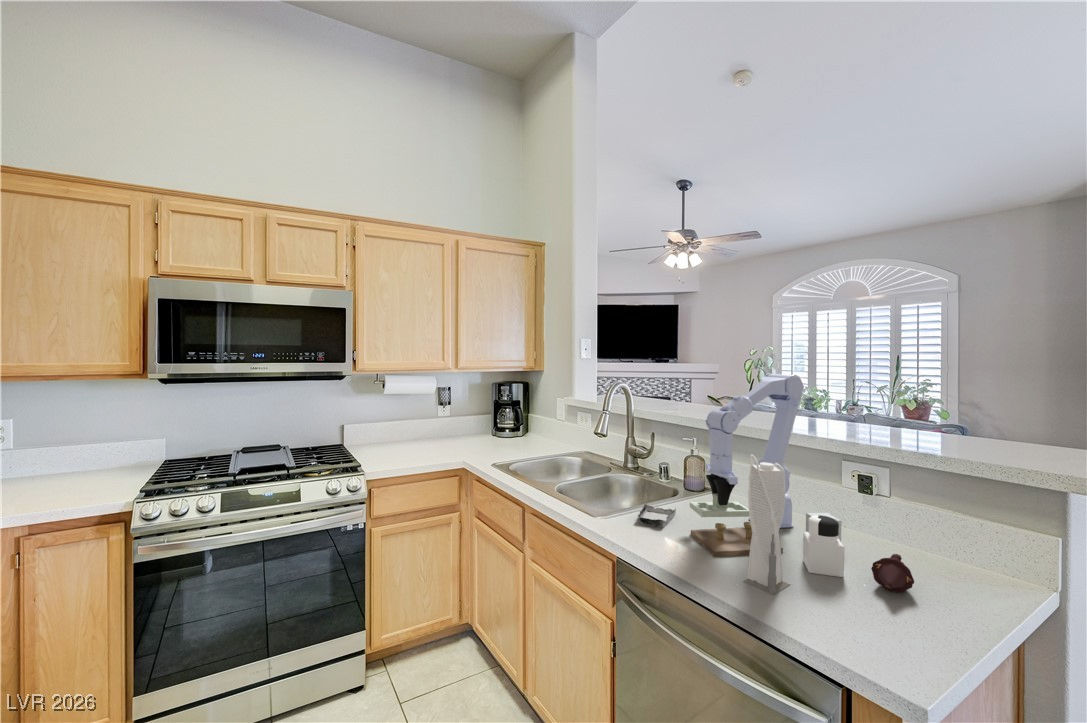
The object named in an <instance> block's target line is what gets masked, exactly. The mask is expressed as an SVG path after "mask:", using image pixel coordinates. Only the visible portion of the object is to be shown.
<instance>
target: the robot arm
mask: <svg viewBox="0 0 1087 723" xmlns="http://www.w3.org/2000/svg"><path fill="white" fill-rule="evenodd" d="M804 388H805V386H804V383H803V381H802V379H801V377H800V376H799V375H797V374H781V373H780V374H779V373H778V374H776V373H771V372H770V373H769V372H768V373H766V374H765V375H764V376H762V377H760V379H759V383H757V384H756V385H755V386H754V387H753V388H752V389H750V390H749V391H748V392H747V393H746V394H745V395H735V396H732V399H731V400H730V401H729V402H728V403H726V404H724V405H722V406H721V408H719V409H713V410H711V411H710V412H709V413H708V415H707V417H706V419H705V425H706V427H707V428H708V434H709V438H710V439H709V440H710V441H709V442H710V443H709V444H710V446H709V447H710V448H709V454H710V455H709V457H710V458H709V462H708V463H705V472H706V473H707V474H706V475H705V477H706V479H707V481H708V484H709V486H710V490H711V495H712V496H713V494H718V502H719V505H727V504H728V502H730V501H729V500H730V497H731V493H732V492H733V489H734V488H735V487H736V485H738V484H739V482H738V480H739V477H738V476H737V475H736V474H735V472H734V470H733V444H734V443H733V437H734V434H733V432H735V431H736V430H737V429H738V426H739V424H740V423H741V421H742V420H744V419H745V418H746V417H747V416H749V415H750V414H751V413H752V412H753V409H754V407H753V406H755V405H756V404H758V403H760V402H762V401H764V399H766V398H767V397H768V398H769V400H770V401H771V402H772V403H774V405H775V406H776V411H775V414H774V417H773V418H774V419H773V422H772V426H771V430H770V433H769V437H768V440H767V444H766V446H765V450H764V455H763V457H762V458H760V459H757V461H758V465H760V463H762V462H766V463H772V464H775V463H778V464H780V465H781V466H782V467H783V469H784V471H785V506H784V513H783V518H782V522H781V526H780V528H781V529H782V528H784V529H785V528H794V525H793V524H792V523H793V503H792V499H791V497H790V495H789V494H788V491H789V489H790V477H791V476H790V475H791V471H790V470H789V469H788V467H787V466H786V465H785V463H784V462H785V458H786V456H787V455H786V454H787V452H788V451H787V450H788V447H789V444H790V440H791V435H792V433H793V429H794V425H795V424H794V423H795V420H796V416H797V413H798V409H799V406H800V404H801V400H802V396H803V393H804ZM754 462H755V461H754ZM754 465H756V462H755V463H754ZM777 467H778V468H780V467H779V466H778V465H777ZM780 469H781V468H780ZM781 470H782V469H781ZM748 520H749V521H750V517H748Z"/></svg>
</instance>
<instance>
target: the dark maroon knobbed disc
mask: <svg viewBox="0 0 1087 723" xmlns="http://www.w3.org/2000/svg"><path fill="white" fill-rule="evenodd" d="M871 571H872V577H873V579H874V581H875V582H876V583H877V584H878V585H880V586H881V587H882V588H883V589H885V590H886V591H890V590H891V591H890V592H894V591H895V593H898V592H900V594H903V593H904V592H906V591H908V590H909V589H912V588H913V585H914V584H915V580H914V577H913V575H912V571H911V570H910V568H909V567H908V566H906V565H905V562H903V561H902V556H901V554H898V553H893V554H892V555H890V557H883V558H880V559H879V560H876V561H874V562H872V566H871Z"/></svg>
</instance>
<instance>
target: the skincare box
mask: <svg viewBox="0 0 1087 723" xmlns="http://www.w3.org/2000/svg"><path fill="white" fill-rule="evenodd" d="M815 515H822V516H828V517H831V518H833V519H835V520H836V521H837V522H838V523H839V540H840V541H841V542H842V522H843V521H842V519H840V518H837V517H835V516H833V515H832V514H830V513H829V512H808V513H807V512H806V513H805V532H809V518H810V517H811V516H815Z"/></svg>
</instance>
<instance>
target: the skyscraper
mask: <svg viewBox="0 0 1087 723" xmlns="http://www.w3.org/2000/svg"><path fill="white" fill-rule="evenodd" d="M753 459H754V462H756V465H755V464H753ZM749 462H750V468H749V474H748V490H747V491H748V494H747V495H748V497H747V498H748V499H747V500H748V509H749V516H750V520H749V522H750V523H751V528H752V538H751V546H750V555H749V557H748V566H747V578H746V579H744V580H743V581H742V583H744V584H747V585H750V586H751V587H754V588H756V589H759V590H761V591H763V592H766V593H769V594H770V595H773V596H775V595H777V594H778V593H780V592H782V591H783V590H785V589H786V588H788V587H790V586H791V584H790V583H788V582H785V581H784V578H783V577H784V576H783V574H784V573H783V561H782V560H783V559H782V553H781V548H780V547H781V542H780V535H779V531H780V526H781V522H782V518H783V513H784V506H785V471H784V469H783V467H782V466H781V465H780V464H778V463H775V464H772V463H766V462H762V463H760V465H758V459H757V457H756V456H755V455H754V454H753V453H751V454H750V455H749ZM777 465H778V466H779V467H780V468H781V469H782V470H781V469H780V468H778V467H777Z"/></svg>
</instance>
